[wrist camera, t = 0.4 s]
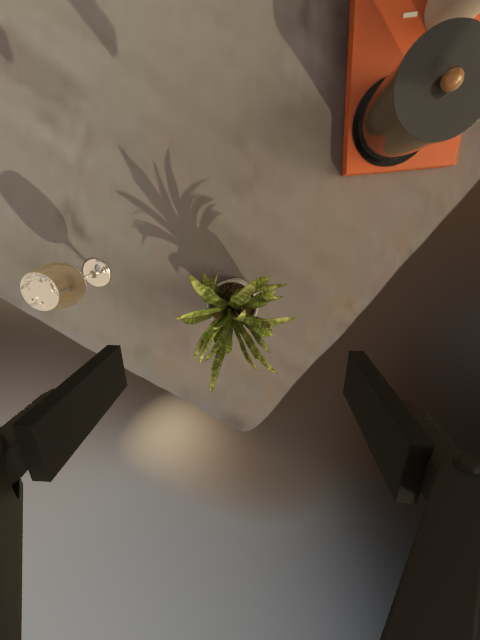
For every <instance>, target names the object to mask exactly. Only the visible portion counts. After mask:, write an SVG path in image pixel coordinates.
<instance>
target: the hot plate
mask: <svg viewBox="0 0 480 640" xmlns="http://www.w3.org/2000/svg"><path fill="white" fill-rule="evenodd" d="M427 1H428V0H350V13H349V34H348V56H347V77H346V98H345V119H344V141H343V162H342V176H353V175H364V174H375V173H386V172H397V171H408V170H419V169H430V168H441V167H448V166H451V165H455V164H456V163H457V157H458V152H459V146H460V140H461V134H460V135H458V136H456V137H454V138H452V139H449V140H447V141H443V142H439V143H434V144H432V145H430V146H427V147H425V148H423V149H420V150H419V151H418V152H417V153H416V154H415V155H414V156H413V157H411V158H410V159H408V160H407V161H405V162H403V163H401V164H398V165H395V166H390V167H380V166H375V165H372V164H370V163H368V162H367V161H366V160H364V159H363V158H362V157H361V156H360V154H359V153H358V151H357V149H356V147H355V145H354V141H353V136H352V123H353V118H354V114H355V111H356V108H357V106H358V104H359V102H360V100H361V99H362V97H363V96H364V94H365V93H366V92H367V91H368V90H369V88H370V87H371V86H372V85H374V84H375V83H376V82H377V81H379V80H380V79H382V78H384V77H386V76H388V75H389V74H390V73H391V72H392V71H393V70H394V68H395V67H396V66H397V65H398V64H399V63H400V62H401V60H402V59H403V57H404V55H405V54H406V52H407V51H408V50H409V48H410V47H411V46H412V45H413V43H414V42H415V41H416V40H417V39H418V38H419V37H420V36H421V35H422V34H423V33H425V32H426V31H427V29H426V26H425V22H424V12H425V7H426V4H427ZM473 19H475V20H478V21H480V13H479V14H478V15H477V16H476V17H475V18H473Z"/></svg>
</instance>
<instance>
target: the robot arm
mask: <svg viewBox="0 0 480 640" xmlns="http://www.w3.org/2000/svg"><path fill="white" fill-rule="evenodd" d="M126 386H127V382H126V376H125V371H124V365H123V359H122V354H121V348H120V345H107V346H106V347H105V348H103V349H102V350H101V351H100V352H99V353H97V354H96V355H95V356H94V357H93V358H92V359H90V360H89V361H88V362H87V363H85V364H84V365H83V366H82V367H81V368H79V369H78V370H77V371H76V372H75V373H73V374H72V375H71V376H70V377H69V378H67V379H66V380H65V381H64V382H63V383H62V384H60V385H59V386H58V387H57V388H55V389H51V390H50V391H48V392H46V393H44V394H42V395H40V396H39V397H38V398H37V399H35V400H34V401H33V402H32V404H29V405H28V406H27V407H26V408H25V409H24V410H22V411H21V412H20V413H18V414H17V415H16V416H14V417H13V418H12V419H11V420H10V421H8V422H7V423H6V424H5V425H3V426H2V427H0V640H21V618H22V616H21V615H22V613H21V612H22V609H21V608H22V531H23V530H22V529H23V528H22V527H23V523H22V522H23V483H22V481H21V477H22V476H23V475H24V473H25V472H26V471H27V470H29V473H30V475H31V478H32V480H33V481H45V482H46V481H47V482H51V481H52V480H53V478H54V477H55V476H56V475H57V473H58V472H59V471H60V470H61V468H62V467H63V466H64V465H65V463H66V462H67V461H68V460H69V458H70V457H71V456H72V455H73V453H74V452H75V450H76V449H77V448H78V447H79V446H80V444H81V443H82V442H83V440H84V439H85V438H86V437H87V436H88V434H89V433H90V432H91V431H92V429H93V428H94V427H95V426H96V424H97V423H98V422H99V420H100V419H101V418H102V417H103V415H104V414H105V413H106V412H107V410H108V409H109V408H110V407H111V405H112V404H113V403H114V401H115V400H116V399H117V398H118V396H119V395H120V394H121V393H122V391H123V390H124V389H125V388H126ZM343 394H344V396H345V398H346V400H347V402H348V404H349V406H350V408H351V411H352V412H353V415H354V417H355V419H356V421H357V423H358V425H359V427H360V429H361V432H362V434H363V436H364V438H365V440H366V442H367V444H368V446H369V448H370V451H371V453H372V455H373V457H374V459H375V461H376V463H377V465H378V467H379V470H380V472H381V474H382V476H383V478H384V480H385V482H386V484H387V486H388V489H389V491H390V493H391V495H392V497H393V499H394V501H395V502H400V503H417V502H418V499H419V495H420V492H421V493H422V494H423V496H424V497H425V499H426V501H427V504H426V506H425V509H424V512H423V516H422V518H421V521H420V524H419V527H418V530H417V533H416V536H415V539H414V542H413V545H412V547H411V550H410V553H409V556H408V559H407V562H406V566H405V568H404V571H403V574H402V577H401V580H400V583H399V586H398V588H397V591H396V594H395V597H394V600H393V603H392V606H391V609H390V612H389V615H388V618H387V621H386V624H385V627H384V629H383V632H382V635H381V638H380V640H476V633H477V624H478V616H479V606H480V460H479V459H478V458H475V457H474V456H472V455H470V454H468V453H464V452H462V451H459V450H458V448H457V447H456V446H455V445H454V444H453V443H452V442H451V440H450V439H449V438H448V437H447V436H446V435H445V433H444V432H443V431H442V430H441V429H440V427H439V426H437V424H436V423H435V422H434V420H433V419H431V418H430V416H429V415H428V413H427V412H426V411H425V410H424V409H423V408H422V407H421V406H419V405H418V404H416V403H415V402H413V401H412V400H401V399H400V398H399V396H398V395H397V394H396V393H395V391H394V390H393V389H392V387H391V386H390V385H389V384H388V382H387V381H386V380H385V378H384V377H383V376H382V374H381V373H380V372H379V371H378V369H377V368H376V367H375V365H374V364H373V363H372V362H371V360H370V359H369V358H368V356H367V355H366V354H365V353H364V351H349V356H348V363H347V370H346V377H345V383H344V390H343Z"/></svg>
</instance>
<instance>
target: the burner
mask: <svg viewBox="0 0 480 640" xmlns="http://www.w3.org/2000/svg"><path fill="white" fill-rule="evenodd" d="M386 77H387V76H386ZM386 77H384V78H382V79H380V80H379V81H377V82H376V83H375V84H374V85H372V86H371V87H370V88H369V90H368V91H367V92H366V93H365V94H364V96H363V97H362V99H361V100H360V102H359V104H358V106H357V108H356V111H355V114H354V118H353V123H352V136H353V141H354V145H355V147H356V149H357V151H358V153H359V154H360V156H361V157H362V158H363V159H364V160H366V161H367V162H368V163H370V164H372V165H375V166H380V167H390V166H395V165H398V164H401V163H403V162H405V161H407V160H408V159H410V158H411V157H413V156H414V155H415V154H416V153H417V152H418V151H419V150H418V151H416V152H413V153H411V154H409V155H406V156H404V157H402V158H399V159H396V160H392V161H382V160H378V159H376V158H373V157H372V156H370V155H369V154H368V153H367V152H366V151H365V149H364V148H363V146H362V144H361V142H360V139H359V133H358V123H359V117H360V114H361V111H362V108H363V106H364V104H365V103H366V101H367V99H368V98H369V97H370V95H371V94H372V93H373V92H374V91H375V90H376V89H377V87H378V86H379V85H380V84H381V83H382V82H383V81H384V80H385V79H386Z"/></svg>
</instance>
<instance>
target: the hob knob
mask: <svg viewBox="0 0 480 640" xmlns="http://www.w3.org/2000/svg"><path fill="white" fill-rule="evenodd" d="M479 13H480V0H428V1H427V4H426V7H425V12H424V22H425V26H426V29H427V30H429V29H430V28H431V27H433V26H435V25H436V24H438V23H440V22H443V21H445V20H448V19H453V18H460V17H466V18H472V19H473V18H475V17H476V16H477V15H478V14H479Z"/></svg>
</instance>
